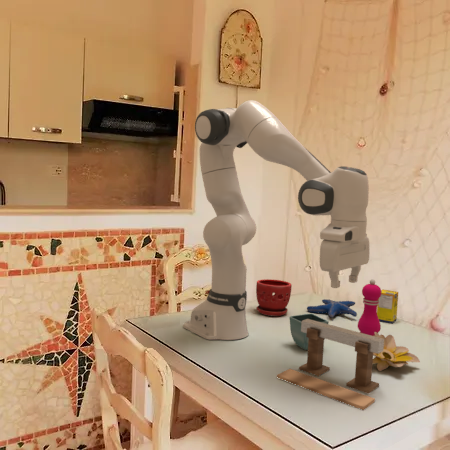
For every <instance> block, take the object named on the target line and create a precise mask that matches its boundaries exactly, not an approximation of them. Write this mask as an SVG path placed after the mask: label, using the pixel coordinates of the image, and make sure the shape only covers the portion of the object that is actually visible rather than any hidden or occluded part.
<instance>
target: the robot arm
mask: <svg viewBox="0 0 450 450" xmlns="http://www.w3.org/2000/svg"><path fill="white" fill-rule="evenodd" d="M194 131H195V136H196V137H197V139H198V140H199V142H201V143H200V145H199V163H200V172H201V176H202V181H203V186H204V192H205V195H206V199H207V201H208V203H209V204H210V205H211V206H212V208H213V211H214V212H215V214H216V216H215V217H213V218H212V219H210V220H209V221H208V222H207V223H206V224H205V225H204V228H203V232H202V233H203V235H202V237H203V240H204V243H205V244H206V245H207V246H208V250H209V255H210V260H211V261H210V263H211V288H210V289H208V290H204V292H205V293H204V295H207V297H206V300H204V301H202V302H201V303H199V304H198V305H196V307H194V308H193V309H192V311H191V313H190V319H189V320H187V321H186V322H184V323H183V324H182V328H184V329H185V330H188V331H189V332H192V333H193V334H196V335H198V336H199V337H201V338H204V339H205V340H223V341H224V340H225V341H227V340H228V341H232V340H240V339H244V338H246V337H248V335H249V330H248V324H247V316H246V313H247V312H246V305H247V299H248V297H247V296H248V295H247V289H246V286H247V285H246V284H247V271H248V270H247V265H246V264H245V261H244V256H243V251H242V250H243V249H242V248H243V246H245V245H246V244H249V243H250V242H251V241H252V240H253V238H254V237H255V235H256V232H257V224H256V221H255V220H254V219H253V217H252V216H251V214H250V212H249V209H248V207H247V205H246V202H245V200H244V197H243V194H242V191H241V187H240V186H241V185H240V181H239V177H238V172H237V168H236V167H237V166H236V162H235V158H234V151H235V149H236V148H239V149H243V147H245V146H246V145H247V144H248V146H249V147H250V148H251V149H252V151H254V153H255V154H257V155H258V156H259V157H260V158H262V159H263V160H265V161H268V162H270V163H275V164H277V165H282V166H285V167H288V168H291V169H292V170H294V171H296V172H297V173H298V174H300V175H301V176H302V177H303V178H304V180H306V181H305V182H304V183H303V184H302V185H301V186H300V188H299V190H298V195H297V200H298V205H299V207H300V208H301V210H302V211H303V212H304V213H306V214H307V215H310V216H311V215H312V216H330V223H328V224H327V226H325V228H323V229H321V230H320V234H319V238H320V239H321V240H322V241H321V242H320V246H319V248H320V249H319V267H320V270H321V271H323V272H327V273H328V275H329V279H330V287H331V288H333V289H339V288H340V286H341V280H340V279H339V275H340V272H341V271H345V270H347V269H351V270H350V274H349V275H348V282H349V283H353V284H355V283H357V282H358V276H359V274H360V272H361V269H362V268H361V267H362V266H364V265H367V264H368V263H369V260H370V239H369V237H368V234H367V225H368V219H367V212H366V211H367V209H368V208H367V207H368V204H369V193H370V192H369V189H370V188H369V177H368V175H367V173H366V172H365V171H364V170H363V169H360V168H357V167H349V166H343V165H341V166H337V167H336V168H335V169H334V170H333V171H331V170H330V169H328V168H327V167H326V166H325V165H324V164H323V163H322V162H321V161H320V160H319V159H318V158H317V157H316V156H315V155H314V154H313V153H312V152H311V151H309V150H308V149H307V148H306V147H305V145H303V144H302V143H301V142H300V141H299V140H298V139H297V138H296V137H295V136H294V135H293V134H292V133H291V132H290V130H289V129H288V128H287V127H286V126H285V125H284V124H283V123H282V122H281V120H280V119H279V118H278V117H277V116H276V115H275V114H274V113H273V112H272V111H271V110H269V108H268V107H267V106H265V105H263V103H260V102H259V101H258V100H254V99H249V100H246V101H244V102H242V103H240V105H239V106H238V107H236V108H235V107H226V108H209V109H206V110H202V111H201V112H200V113H199V114H198V115H197V117H196V119H195V124H194Z"/></svg>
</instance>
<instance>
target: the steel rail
mask: <svg viewBox="0 0 450 450" xmlns="http://www.w3.org/2000/svg"><path fill="white" fill-rule="evenodd" d="M307 328H311V329H315V330H318V337H321V338H325V339H324V340H329V341H332V342H335V343H340V344H343V345H347V346H349V347H354V348H355V342H356V341H358V342H362V343H365V344H368V351H370V352H374V353H377V354H379V353H380V352H382V351H383V348H384V339H382V338H378V337H375V336H371V335H367V334H363V333H360V331H356V330H352V329H348V328H344V327H339V326H336V325H332V324H330V323H328V324H326V323H322V322H318V321H314V320H310V319H306V320H303V321H302V324H301V332H304V333H307Z"/></svg>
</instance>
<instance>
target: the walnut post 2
mask: <svg viewBox="0 0 450 450" xmlns="http://www.w3.org/2000/svg"><path fill="white" fill-rule="evenodd" d="M354 352H355V353H356V359H355V360H356V361H355V369H354V370H355V373H354V374H355V375H354V378H352V379H350V380H349V381H347V382H345V383H346V384H345V387H348V388H350V387H351V389H353V388H354V389H353V390H355V391H356V390H357V391H360V392H362V393H366V394H368V395H369V394H370V393H372V392H373V391H374V390H376V389H377V388H379V386H380V383H379V382H377V381H373V380H372V376H373V375H372V373H373V365H374V364H373V358H374V356H373V352H370V351H368V344H365V343H362V342H358V341H356V342H355V347H354Z"/></svg>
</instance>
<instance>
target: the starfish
mask: <svg viewBox="0 0 450 450" xmlns="http://www.w3.org/2000/svg"><path fill="white" fill-rule="evenodd" d="M321 303H322V304H320V305H312V306H311V305H309V306H307V307H306V311H307V312H309V313H311V314H328V316H329V317H330V318H334V317H335V316H336V315H342V314H343V315H351V316H352V317H357V316H358V314H357V312H356V311H355V310H354V309H352V308H350V307H353V306H355V305H356V302H355V301H353V300H339V301H336V300H332V299H329V298H328V299H327V298H326V299H325V298H324V299H322V300H321Z"/></svg>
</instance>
